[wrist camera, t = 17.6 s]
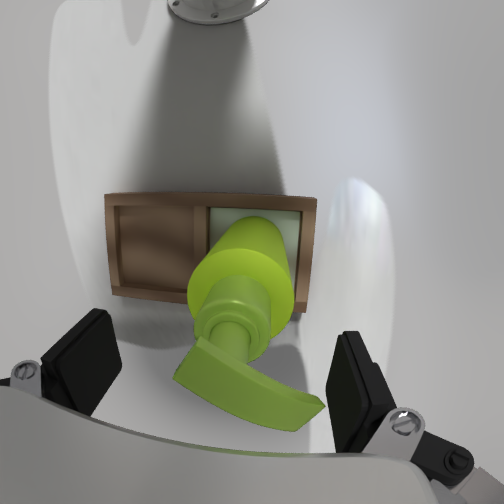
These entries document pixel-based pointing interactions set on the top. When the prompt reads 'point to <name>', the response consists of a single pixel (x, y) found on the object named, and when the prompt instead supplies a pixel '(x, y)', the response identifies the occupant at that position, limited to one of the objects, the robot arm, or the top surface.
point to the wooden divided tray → (195, 238)
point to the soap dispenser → (243, 327)
